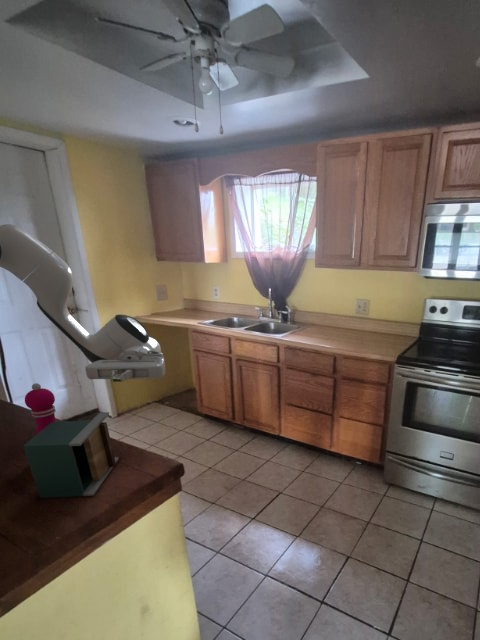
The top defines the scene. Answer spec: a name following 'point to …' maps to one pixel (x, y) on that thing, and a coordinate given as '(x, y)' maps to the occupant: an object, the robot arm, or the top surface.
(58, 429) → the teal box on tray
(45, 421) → the pepper mill
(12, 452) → the top surface
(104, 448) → the sliding door
